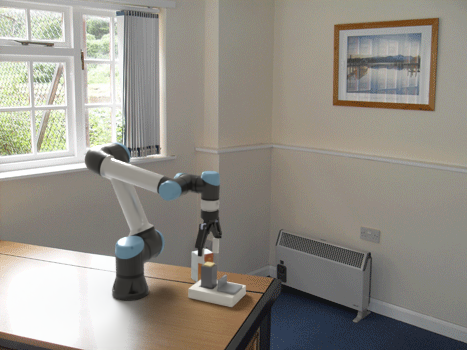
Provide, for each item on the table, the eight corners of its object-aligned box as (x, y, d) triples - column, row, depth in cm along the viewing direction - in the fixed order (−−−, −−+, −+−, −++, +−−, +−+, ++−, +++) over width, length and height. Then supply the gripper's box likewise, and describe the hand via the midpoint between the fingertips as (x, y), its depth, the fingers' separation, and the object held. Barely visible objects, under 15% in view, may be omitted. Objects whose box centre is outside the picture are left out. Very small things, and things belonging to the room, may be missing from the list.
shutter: (216, 290, 218) (217, 280, 217) (225, 283, 225) (225, 274, 225) (234, 294, 215) (234, 284, 214) (242, 287, 222) (242, 277, 221)
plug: (211, 295, 222) (211, 266, 219) (200, 292, 224) (201, 264, 221) (216, 290, 226) (217, 262, 223) (206, 288, 228) (206, 260, 225)
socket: (188, 297, 221) (188, 288, 220) (203, 285, 234) (203, 276, 233) (232, 307, 213) (232, 298, 212) (245, 294, 226) (245, 285, 225)
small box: (197, 283, 236) (198, 255, 233) (190, 278, 241) (191, 251, 238) (213, 279, 240) (213, 252, 238) (206, 275, 245) (206, 248, 243)
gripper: (204, 217, 205) (202, 269, 209) (230, 203, 227) (228, 250, 232) (186, 214, 208) (185, 266, 212) (215, 201, 230) (213, 247, 235)
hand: (208, 258), depth 222 cm, fingers open, 13 cm apart
